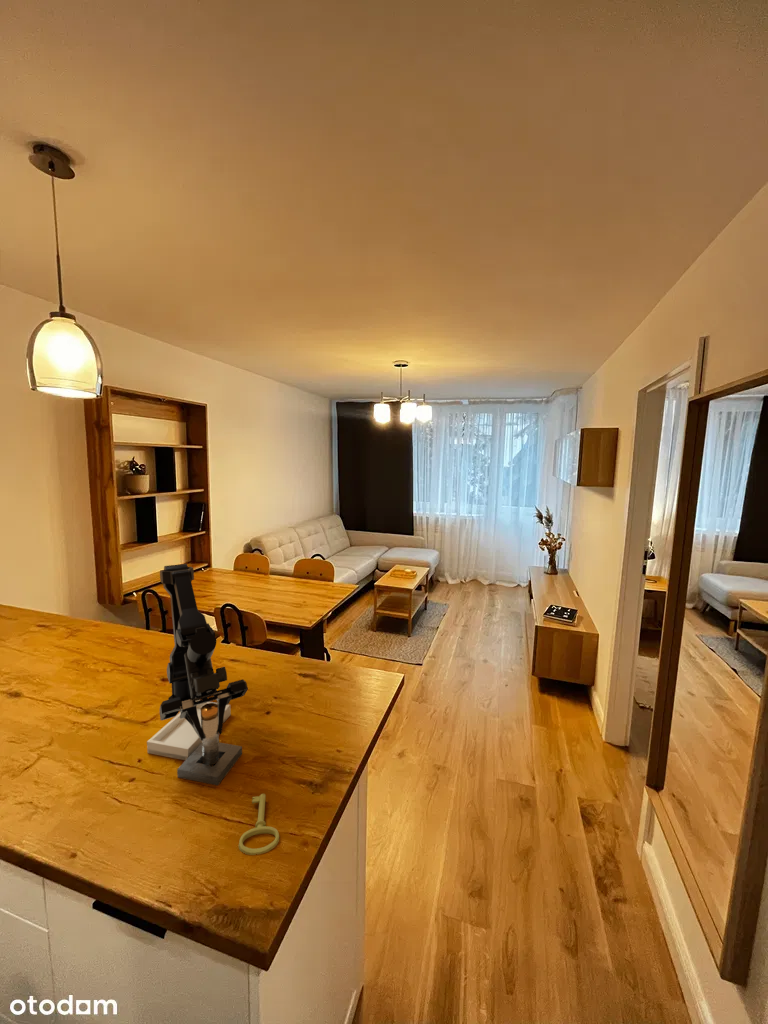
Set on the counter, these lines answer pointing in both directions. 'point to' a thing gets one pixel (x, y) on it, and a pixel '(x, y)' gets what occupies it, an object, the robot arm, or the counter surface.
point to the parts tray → (178, 737)
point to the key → (259, 830)
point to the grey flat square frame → (207, 773)
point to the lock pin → (210, 733)
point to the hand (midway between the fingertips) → (211, 736)
